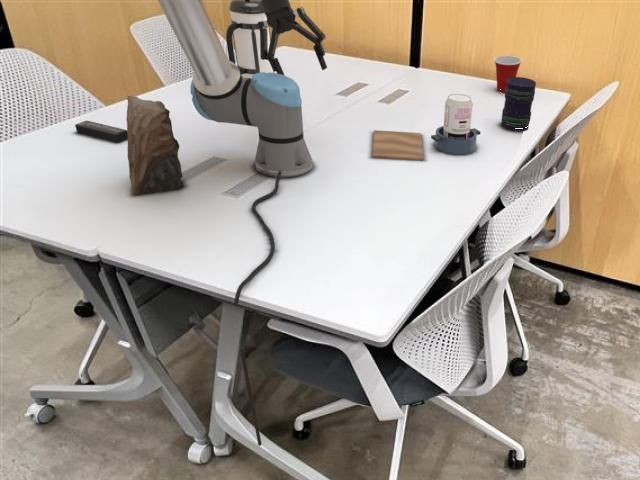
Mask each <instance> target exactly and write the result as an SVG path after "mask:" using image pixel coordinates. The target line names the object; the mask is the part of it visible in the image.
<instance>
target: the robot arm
mask: <svg viewBox="0 0 640 480" xmlns="http://www.w3.org/2000/svg"><path fill="white" fill-rule="evenodd" d="M157 2H158V4H159V6H160V8H161V10H162V12H163V14H164V15H165V17H166V20H167V21H168V23H169V26H170V27H171V30H172V31H173V33H174V35H175V37H176V39H177V41H178V43H179V45H180V47H181V50H183V53H184V54H185V57H186V59H187V60H188V62H189V64H190V66H191V68H192V70H193V75H192V79H191V82H190V94H191V96H192V97H191V101H192V105H193V106H194V109H195V110H196V112H197V113H198V114H199V116H201V117H202V118H204V119H205V120H208V121H213V122H216V123H220V124H221V123H224V124H232V125H238V126H239V125H240V126H249V127H255V128H257V132H258V143H257V146H256V147H257V148H256V152H255V157H254V163H255V169H256V170H257V171H258V172H259V173H260V174H263V175H266V176H269V177H273V178H276V179H275V186H274V189H273V190H272V191H271V192H269V193H267V194H265V195H263V196H261V197H258V198H257V199H255V200H254V201H253V203H252V205H251V210H252V212H253V214H254V215H255V216H256V218H257V219H258V221H259V222H260V224H261V225H262V227H263V228H264V229H265V231H266V232H267V234H268V237H269V240H270V251H269V254H268V255H267V257H266V258H265V259H264V261H262V262H261V263H260V264H259V265H258V266H256V267H255V268H254V269H253V270H252V271H251V273H250V274H249V275H248V276H247V277H246V278H245V279H244V280H243V281H242V282H241V283H240V284H239V285H238V287H237V289H236V292H235V296H234V302H233V303H234V305H238V304H239V302H240V297H241V293H242V290H243V288H244V287H245V286H246V285H247V284H248V283H249V282H250V281H251V280H252V279H253V278H254V276H256V274H257V273H259V271H260V270H261V269H263V268H264V267H265V266H266V265H267V264H268V263H269V262H270V261H271V259H272V258H273V256H274V254H275V248H276V243H275V238H274V235H273V233H272V231H271V229H270V228H269V226H268V225H267V223H265V221H264V219H263V217H262V216H261V214H260V213H259V212H258V211H257V209H256V206H257V204H259V203H260V202H262V201H264V200H266V199H268V198H270V197H272V196H273V195H275V194H276V193H277V192H278V190H279V185H280V180H281V178H294V177H299V176H303V175H305V174H307V173H308V172H311V170H312V169H313V158H312V155H311V153H310V150H309V147H308V145H307V143H306V140H305V137H304V136H305V135H304V123H303V109H302V103H303V101H302V98H301V91H300V90H301V89H300V87H299V84H298V83H297V82H296V81H295V80H294V79H293V78H291V77H289V76H287V75H285V73H284V71H283V68H282V66H281V63H280V61H279V58H278V57H275V54H276V50H277V47H278V42H279V37H280V35H282V34H284V33H286V32H291V31H292V30H294V31H295V32H297V33H299V34H300V35H302V36H303V37H304V38H306V39H307V40H309V41H310V42H312V43H313V44H314V45H313V46H312V47H313V51H314V52H315V55H316V58H317V60H318V63H319V65H320V68H321V71H325V70H326V69H328V66H327V62H326V60H325V57H324V56H326V52H325V49H324V46H323V44H322V42H323V41H324V40H325V39H326V38H327V36H326V35H325V33H324V32H323V31H322V30H321V29H320V28H319V27H318V25H317V24H315V22H314V21H313V20H312V19H311V18H310V17H309V16H308V15H307V13H306V11H305V9H304V7H303V6H299V7H297V8H296V9H295V10H294V9H293V8H292V5H291V3H290V0H261V1H260V3H261V6H262V8H263V11H264V13H265V15H266V17H267V21H260V22H258V27H259V30H260V56H261V59H262V60H268V61H269V62H270V65H271V67H272V69H273V71H274V73H270V72H269V73H265V72H261V73H256V74H254V75H253V76H252V79H251V78H245V77H242V76H241V73H240V71H239V69H238V67H237V64H236V63H235V64H236V65H235V64H234V63H233V62H231V61H229V58H228V57H227V54H226V52H225V50H224V47H223V45H222V43H221V40H220V38H219V36H218V33H217V31H216V28H215V27H214V24H213V22H212V20H211V18H210V15H209V13H208V10H207V8H206V6H205V4H204V1H203V0H157ZM296 17H297V18H300V19H301V21H302V22H303V23H304V24H305V25H306V26H307V27H308V29H309V30H310V31H309V30H308V29H306V28H305V27H304V26H303V25H301V24H300V22H297V21H296ZM268 25H269V28H271V29H272V30H271V32H270V38H271V41H270V45H269V50H268V42H267V28H268ZM240 357H241V363H242V364H241V365H242V368H243V374H244V381H245V384H246V391H247V395H248V401H249V406H250V410H251V415H252V419H253V425H254V430H255V435H256V440H257V445H258V446H259V447H260V446H262V445H263V444H262V439H261V433H260V427H259V422H258V418H257V412H256V408H255V407H256V406H255V402H254V401H255V400H254V397H253V392H252V387H251V381H250V376H249V370H248V365H247V364H248V363H247V358H246V351H245V349H243V348H242V349H240Z"/></svg>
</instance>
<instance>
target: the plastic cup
mask: <svg viewBox="0 0 640 480" xmlns="http://www.w3.org/2000/svg"><path fill="white" fill-rule="evenodd" d="M522 61H523V59H522V58H521V57H518V56H514V55H499V56H496V57H494V58H493V62H494V65H495V73H496V74H495V75H496V76H495V79H496V90H497V92H499V93H503V94H505V90H506V85H507V79H508V78H511V77H517V75H518V71H519V68H520V66H521V63H522ZM500 89H501V90H500Z"/></svg>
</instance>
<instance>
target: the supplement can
mask: <svg viewBox="0 0 640 480" xmlns="http://www.w3.org/2000/svg"><path fill="white" fill-rule="evenodd" d="M473 106H474V103H473V100H472V97H471V96H469V95H467V94H464V93H452V94H451V93H450V94H448V96H447V98H446V100H445V103H444V113H443V114H444V115H443V126H444V127H443V136H444V137H447V138H451V139H469V135H470V129H471V125H472V124H471V123H472V115H473V108H474V107H473Z"/></svg>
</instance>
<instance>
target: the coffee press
mask: <svg viewBox="0 0 640 480" xmlns="http://www.w3.org/2000/svg"><path fill="white" fill-rule="evenodd" d="M260 1H261V0H231V1H230V2H229V5H228V10H229V12H230V24H229V26H228V27H227V29H226V35H225V39H226V40H225V41H226V49H227V55H228V60H229V61H231V62H233V63H234V64H235V65H236V66H237V67H238V69H239V71H240V73H241V76H242V77H245V78H251V79H252V76H253V75H254V74H256V73H261V72H265V73H269V72H270V73H275V72H274V71H273V69H272V67H271V65H270V62H269V61H268V60H262V59H261V56H260V30H259V27H258V22H260V21H267V17H266V15H265V13H264V11H263V8H262V6H261V3H260ZM270 41H271V29H270V26H269V25H268V28H267V42H268V50H269V45H270Z"/></svg>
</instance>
